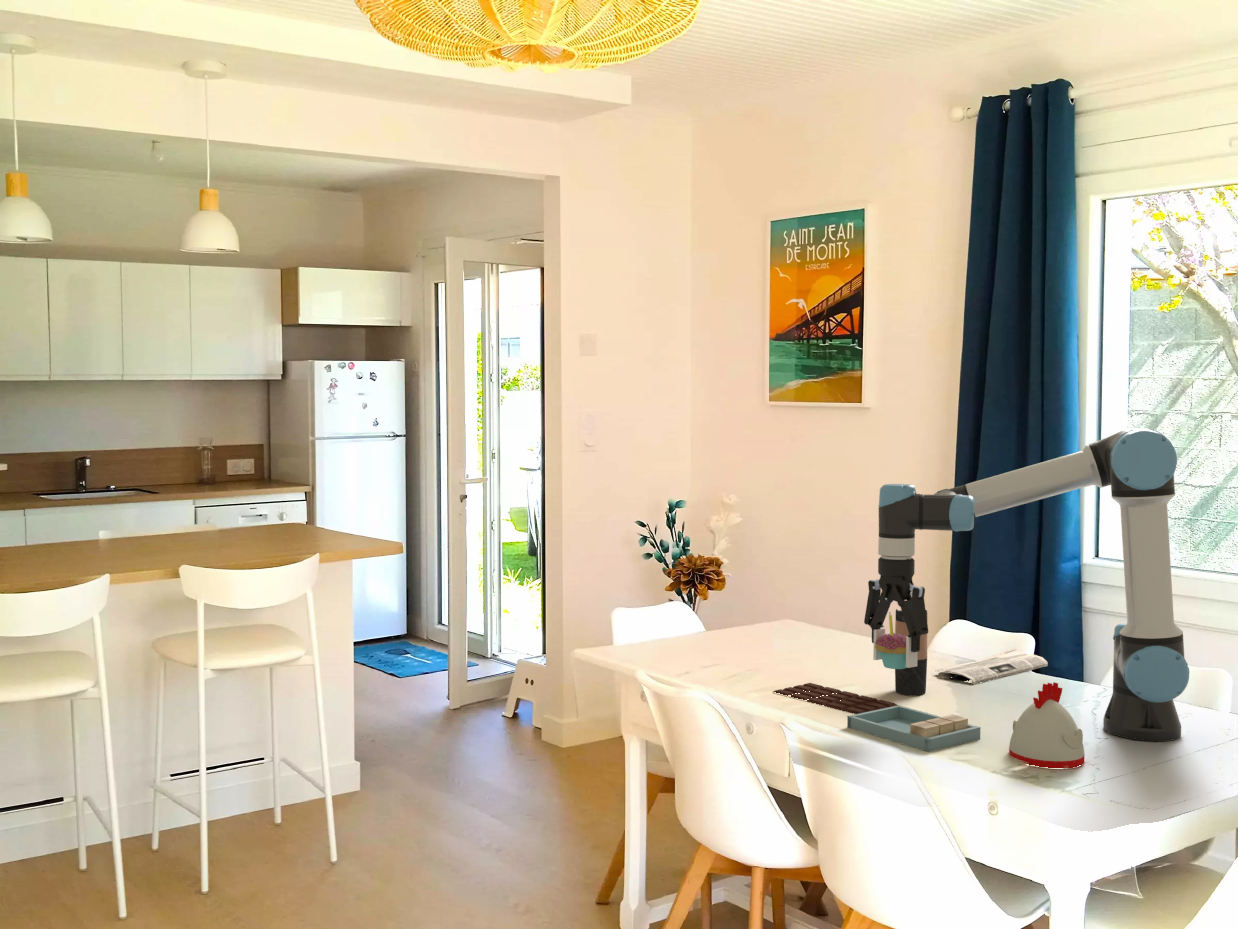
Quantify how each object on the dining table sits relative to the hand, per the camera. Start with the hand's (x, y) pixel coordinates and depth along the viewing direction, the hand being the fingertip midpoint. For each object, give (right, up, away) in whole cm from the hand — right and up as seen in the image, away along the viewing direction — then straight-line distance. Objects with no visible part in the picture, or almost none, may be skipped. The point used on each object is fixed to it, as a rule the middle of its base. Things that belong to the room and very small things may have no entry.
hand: (895, 662), depth 253 cm
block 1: (+3, -15, -12) cm, 19 cm away
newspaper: (+39, -12, +58) cm, 71 cm away
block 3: (+11, -14, -7) cm, 19 cm away
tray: (+3, -15, -3) cm, 15 cm away
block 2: (+7, -14, -9) cm, 18 cm away
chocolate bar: (-8, -14, +28) cm, 32 cm away
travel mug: (+12, -13, +34) cm, 39 cm away
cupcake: (0, -1, 0) cm, 1 cm away
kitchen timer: (+25, -16, -20) cm, 36 cm away
